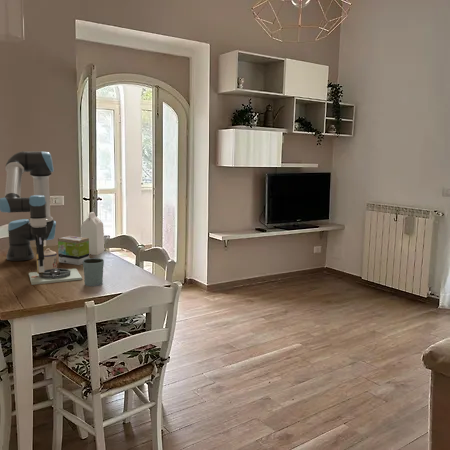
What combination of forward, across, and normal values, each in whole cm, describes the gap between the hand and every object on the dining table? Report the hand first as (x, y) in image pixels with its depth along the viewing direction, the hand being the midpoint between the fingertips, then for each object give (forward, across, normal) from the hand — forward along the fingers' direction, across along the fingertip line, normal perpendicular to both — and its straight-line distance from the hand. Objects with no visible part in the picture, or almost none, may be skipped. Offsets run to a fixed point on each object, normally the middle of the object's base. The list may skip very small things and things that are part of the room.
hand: (41, 270), depth 241 cm
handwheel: (+3, 0, -6) cm, 7 cm away
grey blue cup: (+4, -21, -23) cm, 31 cm away
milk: (+5, +52, -36) cm, 64 cm away
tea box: (+5, +29, -21) cm, 36 cm away
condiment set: (+5, +20, -6) cm, 21 cm away
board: (+4, 0, -7) cm, 8 cm away
